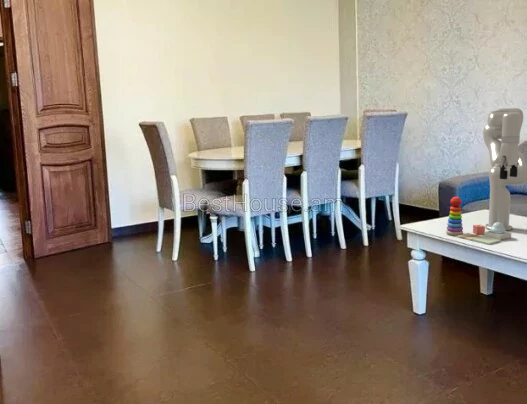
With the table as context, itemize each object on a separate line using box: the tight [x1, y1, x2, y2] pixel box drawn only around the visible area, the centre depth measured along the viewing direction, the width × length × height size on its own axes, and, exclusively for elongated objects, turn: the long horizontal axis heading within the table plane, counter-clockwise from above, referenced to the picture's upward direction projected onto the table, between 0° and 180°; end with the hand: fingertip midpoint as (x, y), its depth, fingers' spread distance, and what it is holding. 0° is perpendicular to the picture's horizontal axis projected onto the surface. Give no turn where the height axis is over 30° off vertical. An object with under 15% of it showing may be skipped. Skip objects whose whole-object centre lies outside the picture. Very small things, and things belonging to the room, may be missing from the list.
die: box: [472, 224, 486, 236], centre depth 266 cm, size 4×4×4 cm
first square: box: [456, 232, 484, 242], centre depth 259 cm, size 8×8×1 cm
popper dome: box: [491, 222, 505, 235], centre depth 257 cm, size 6×6×5 cm
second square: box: [472, 237, 502, 246], centre depth 252 cm, size 8×8×1 cm
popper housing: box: [483, 229, 512, 241], centre depth 258 cm, size 9×9×3 cm
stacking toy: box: [445, 196, 464, 237], centre depth 265 cm, size 8×8×19 cm
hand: (508, 177), depth 249 cm, fingers open, 9 cm apart
